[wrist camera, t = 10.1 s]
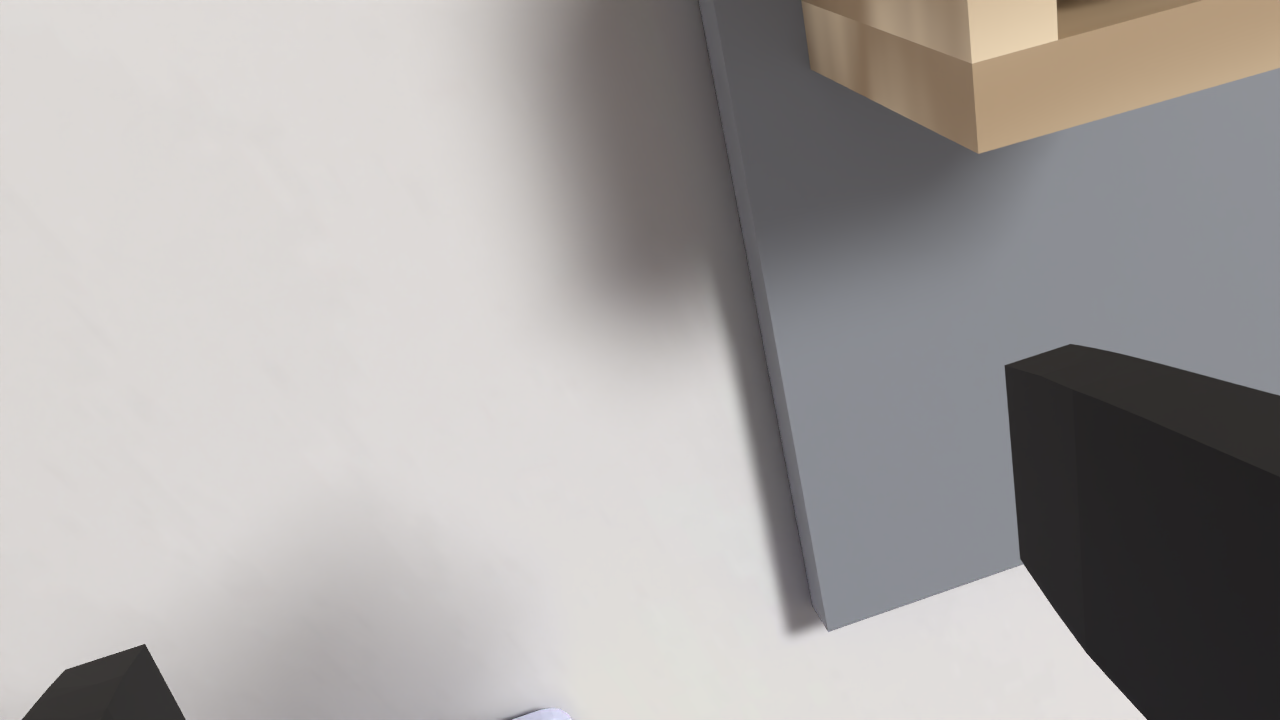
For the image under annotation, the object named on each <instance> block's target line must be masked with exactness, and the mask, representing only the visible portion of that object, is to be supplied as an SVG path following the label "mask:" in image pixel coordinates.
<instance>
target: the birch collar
mask: <svg viewBox="0 0 1280 720" xmlns="http://www.w3.org/2000/svg"><path fill="white" fill-rule="evenodd" d="M801 2H802V9H803V17H804V24H805V31H806V39H807V46H808V54H809V61H810V68H811V70H813V71H815V72H817V73H819V74H821V75H823V76H825V77H827V78H829V79H831V80H833V81H835V82H837V83H839V84H841V85H843V86H845V87H847V88H849V89H851V90H853V91H855V92H857V93H859V94H861V95H863V96H865V97H867V98H869V99H871V100H873V101H875V102H877V103H879V104H881V105H883V106H884V107H886V108H888V109H890V110H892V111H894V112H896V113H898V114H900V115H902V116H904V117H906V118H908V119H910V120H912V121H914V122H916V123H918V124H920V125H922V126H924V127H926V128H928V129H930V130H932V131H934V132H936V133H938V134H940V135H942V136H944V137H946V138H948V139H950V140H952V141H954V142H956V143H958V144H960V145H962V146H964V147H966V148H968V149H970V150H972V151H974V152H976V153H978V154H980V153H983V152H987V151H990V150H994V149H997V148H1001V147H1004V146H1008V145H1011V144H1015V143H1018V142H1022V141H1025V140H1029V139H1032V138H1036V137H1039V136H1043V135H1046V134H1050V133H1053V132H1057V131H1060V130H1064V129H1067V128H1071V127H1074V126H1078V125H1081V124H1085V123H1088V122H1092V121H1095V120H1099V119H1102V118H1106V117H1109V116H1113V115H1116V114H1120V113H1123V112H1127V111H1130V110H1134V109H1137V108H1141V107H1144V106H1148V105H1151V104H1155V103H1158V102H1162V101H1165V100H1169V99H1172V98H1176V97H1179V96H1183V95H1186V94H1190V93H1193V92H1197V91H1200V90H1204V89H1207V88H1211V87H1214V86H1218V85H1221V84H1225V83H1228V82H1232V81H1235V80H1239V79H1242V78H1246V77H1249V76H1253V75H1256V74H1260V73H1263V72H1267V71H1270V70H1274V69H1277V68H1280V0H801Z"/></svg>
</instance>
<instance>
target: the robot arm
mask: <svg viewBox="0 0 1280 720" xmlns="http://www.w3.org/2000/svg"><path fill="white" fill-rule="evenodd" d="M1004 366H1005V378H1006V391H1007V403H1008V415H1009V428H1010V440H1011V452H1012V465H1013V477H1014V490H1015V502H1016V514H1017V527H1018V539H1019V551H1020V560H1021V561H1022V562H1023V564H1024V565H1025V567H1026V568H1027V570H1028V571H1029V573H1030V574H1031V576H1032V577H1033V579H1034V580H1035V582H1036V583H1037V584H1038V586H1039V587H1040V589H1041V590H1042V592H1043V593H1044V595H1045V596H1046V598H1047V599H1048V601H1049V602H1050V603H1051V605H1052V606H1053V608H1054V609H1055V611H1056V612H1057V613H1058V615H1059V616H1060V618H1061V619H1062V620H1063V622H1064V623H1065V624H1066V626H1067V627H1068V629H1069V630H1070V631H1071V633H1072V634H1073V635H1074V637H1075V638H1076V639H1077V641H1078V642H1079V644H1080V645H1081V646H1082V648H1083V649H1084V650H1085V652H1086V653H1087V654H1088V655H1089V656H1090V657H1091V659H1092V660H1093V661H1094V662H1095V663H1096V664H1097V665H1098V666H1099V667H1100V669H1101V670H1102V671H1103V672H1104V673H1105V674H1106V675H1107V676H1108V677H1109V679H1110V680H1111V681H1112V682H1113V683H1114V684H1115V685H1116V686H1117V687H1118V688H1119V689H1120V691H1121V692H1122V693H1123V694H1124V695H1125V696H1126V697H1127V698H1128V699H1129V700H1130V701H1131V703H1132V704H1133V705H1134V706H1135V707H1136V708H1137V709H1138V710H1139V711H1140V712H1141V713H1142V714H1143V716H1144V717H1145V718H1146V719H1147V720H1280V396H1279V395H1276V394H1272V393H1268V392H1264V391H1261V390H1257V389H1253V388H1249V387H1246V386H1242V385H1238V384H1234V383H1231V382H1227V381H1223V380H1220V379H1216V378H1212V377H1208V376H1205V375H1201V374H1197V373H1194V372H1190V371H1186V370H1182V369H1179V368H1175V367H1171V366H1167V365H1164V364H1160V363H1156V362H1152V361H1148V360H1144V359H1140V358H1136V357H1132V356H1128V355H1124V354H1120V353H1115V352H1111V351H1106V350H1102V349H1097V348H1092V347H1086V346H1080V345H1075V344H1069V345H1066V346H1062V347H1059V348H1056V349H1053V350H1050V351H1047V352H1044V353H1041V354H1038V355H1035V356H1032V357H1029V358H1025V359H1022V360H1019V361H1016V362H1013V363H1010V364H1007V365H1004ZM22 720H185V718H184V716H183V714H182V712H181V710H180V708H179V706H178V705H177V703H176V701H175V699H174V697H173V695H172V693H171V692H170V690H169V688H168V686H167V684H166V682H165V680H164V678H163V677H162V675H161V673H160V671H159V669H158V667H157V665H156V664H155V662H154V660H153V658H152V656H151V654H150V652H149V651H148V649H147V647H146V645H145V644H144V645H140V646H137V647H134V648H131V649H128V650H125V651H122V652H119V653H116V654H113V655H110V656H107V657H103V658H100V659H97V660H94V661H91V662H88V663H85V664H82V665H79V666H76V667H73V668H70V669H66V670H65V671H64V672H63V673H62V674H61V675H60V676H59V677H58V678H57V679H56V680H55V682H54V683H53V684H52V685H51V686H50V687H49V688H48V689H47V690H46V692H45V693H44V694H43V695H42V696H41V697H40V699H39V700H38V701H37V702H36V703H35V704H34V706H33V707H32V708H31V709H30V711H29V712H28V713H27V714H26V715H25V717H24V718H23V719H22ZM512 720H572V719H571V717H570V715H569V714H568V713H566V712H565V711H563V710H561V709H556V708H547V709H542V710H538V711H535V712H532V713H530V714H527V715H524V716H521V717H518V718H515V719H512Z"/></svg>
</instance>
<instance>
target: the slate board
mask: <svg viewBox="0 0 1280 720" xmlns="http://www.w3.org/2000/svg"><path fill="white" fill-rule="evenodd" d="M699 5H700V10H701V16H702V21H703V26H704V32H705V37H706V42H707V48H708V53H709V58H710V64H711V69H712V74H713V80H714V85H715V90H716V96H717V101H718V106H719V112H720V117H721V122H722V127H723V133H724V138H725V143H726V149H727V154H728V159H729V165H730V170H731V175H732V181H733V186H734V191H735V197H736V202H737V207H738V213H739V218H740V223H741V229H742V234H743V239H744V244H745V250H746V255H747V260H748V266H749V271H750V276H751V282H752V287H753V292H754V298H755V303H756V308H757V314H758V319H759V324H760V330H761V335H762V340H763V346H764V351H765V356H766V361H767V367H768V372H769V377H770V383H771V388H772V393H773V399H774V404H775V409H776V415H777V420H778V425H779V431H780V436H781V441H782V447H783V452H784V457H785V463H786V468H787V473H788V478H789V484H790V489H791V494H792V500H793V505H794V510H795V516H796V521H797V526H798V532H799V537H800V542H801V548H802V553H803V558H804V564H805V569H806V574H807V580H808V585H809V590H810V595H811V601H812V606H813V608H814V610H815V611H816V613H817V614H818V616H819V618H820V619H821V621H822V622H823V624H824V626H825V627H826V629H827V630H828V632H829V631H832V630H835V629H838V628H841V627H844V626H847V625H850V624H852V623H855V622H858V621H861V620H864V619H867V618H870V617H873V616H876V615H878V614H881V613H884V612H887V611H890V610H893V609H896V608H899V607H901V606H904V605H907V604H910V603H913V602H916V601H919V600H922V599H924V598H927V597H930V596H933V595H936V594H939V593H942V592H945V591H947V590H950V589H953V588H956V587H959V586H962V585H965V584H968V583H971V582H973V581H976V580H979V579H982V578H985V577H988V576H991V575H994V574H996V573H999V572H1002V571H1005V570H1008V569H1011V568H1014V567H1017V566H1019V565H1022V564H1023V562H1022V561H1021V560H1020V551H1019V539H1018V527H1017V514H1016V502H1015V490H1014V477H1013V465H1012V452H1011V440H1010V428H1009V415H1008V403H1007V391H1006V378H1005V366H1004V365H1007V364H1010V363H1013V362H1016V361H1019V360H1022V359H1025V358H1029V357H1032V356H1035V355H1038V354H1041V353H1044V352H1047V351H1050V350H1053V349H1056V348H1059V347H1062V346H1066V345H1069V344H1075V345H1080V346H1086V347H1092V348H1097V349H1102V350H1106V351H1111V352H1115V353H1120V354H1124V355H1128V356H1132V357H1136V358H1140V359H1144V360H1148V361H1152V362H1156V363H1160V364H1164V365H1167V366H1171V367H1175V368H1179V369H1182V370H1186V371H1190V372H1194V373H1197V374H1201V375H1205V376H1208V377H1212V378H1216V379H1220V380H1223V381H1227V382H1231V383H1234V384H1238V385H1242V386H1246V387H1249V388H1253V389H1257V390H1261V391H1264V392H1268V393H1272V394H1276V395H1279V396H1280V68H1277V69H1274V70H1270V71H1267V72H1263V73H1260V74H1256V75H1253V76H1249V77H1246V78H1242V79H1239V80H1235V81H1232V82H1228V83H1225V84H1221V85H1218V86H1214V87H1211V88H1207V89H1204V90H1200V91H1197V92H1193V93H1190V94H1186V95H1183V96H1179V97H1176V98H1172V99H1169V100H1165V101H1162V102H1158V103H1155V104H1151V105H1148V106H1144V107H1141V108H1137V109H1134V110H1130V111H1127V112H1123V113H1120V114H1116V115H1113V116H1109V117H1106V118H1102V119H1099V120H1095V121H1092V122H1088V123H1085V124H1081V125H1078V126H1074V127H1071V128H1067V129H1064V130H1060V131H1057V132H1053V133H1050V134H1046V135H1043V136H1039V137H1036V138H1032V139H1029V140H1025V141H1022V142H1018V143H1015V144H1011V145H1008V146H1004V147H1001V148H997V149H994V150H990V151H987V152H983V153H980V154H978V153H976V152H974V151H972V150H970V149H968V148H966V147H964V146H962V145H960V144H958V143H956V142H954V141H952V140H950V139H948V138H946V137H944V136H942V135H940V134H938V133H936V132H934V131H932V130H930V129H928V128H926V127H924V126H922V125H920V124H918V123H916V122H914V121H912V120H910V119H908V118H906V117H904V116H902V115H900V114H898V113H896V112H894V111H892V110H890V109H888V108H886V107H884V106H883V105H881V104H879V103H877V102H875V101H873V100H871V99H869V98H867V97H865V96H863V95H861V94H859V93H857V92H855V91H853V90H851V89H849V88H847V87H845V86H843V85H841V84H839V83H837V82H835V81H833V80H831V79H829V78H827V77H825V76H823V75H821V74H819V73H817V72H815V71H813V70H811V68H810V61H809V54H808V46H807V39H806V31H805V24H804V17H803V9H802V2H801V0H699Z"/></svg>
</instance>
